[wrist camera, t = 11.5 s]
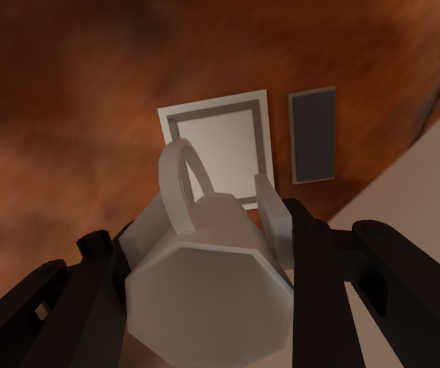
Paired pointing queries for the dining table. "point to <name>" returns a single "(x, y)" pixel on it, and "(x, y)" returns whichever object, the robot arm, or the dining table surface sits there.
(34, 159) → the dining table surface
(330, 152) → the ink pad
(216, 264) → the cup
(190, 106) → the board
